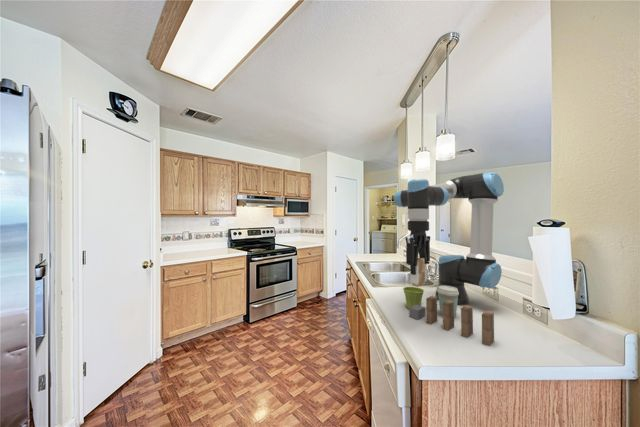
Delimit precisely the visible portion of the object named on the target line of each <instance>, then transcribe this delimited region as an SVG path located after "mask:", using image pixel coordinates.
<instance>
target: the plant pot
mask: <svg viewBox="0 0 640 427" xmlns="http://www.w3.org/2000/svg"><path fill="white" fill-rule="evenodd" d="M402 290H403V293H404V296H405V302H406V304H405V305H406V307H407V308H408V309H409V307H412V306H414V305H420V306H422V301H423V300H422V299H423V295H424V293H425V290H424V289H423V288H421V287H415V286H405V287H403V288H402Z"/></svg>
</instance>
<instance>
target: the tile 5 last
mask: <svg viewBox="0 0 640 427" xmlns="http://www.w3.org/2000/svg"><path fill="white" fill-rule="evenodd" d="M425 300H426V301H425V302H426V303H425V304H426V306H425V317H426V324H428V325H434V324H435V323H438V299H437V297H435V296H434V295H431V296H429V297H426V299H425Z"/></svg>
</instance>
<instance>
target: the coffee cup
mask: <svg viewBox="0 0 640 427" xmlns="http://www.w3.org/2000/svg"><path fill="white" fill-rule="evenodd" d="M437 287H438V286H437ZM436 290H437V292H438V298H439V300H438V304H439V312H440V316H442V317H443V302H446V301H448V300H450V301H454V319H455V318H456V317H457V309H458V308H457V307H458V305H457V302H458V295H459V292H458V289H457V288H455V287H451V286H439V287H438V289H437V288H436Z"/></svg>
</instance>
